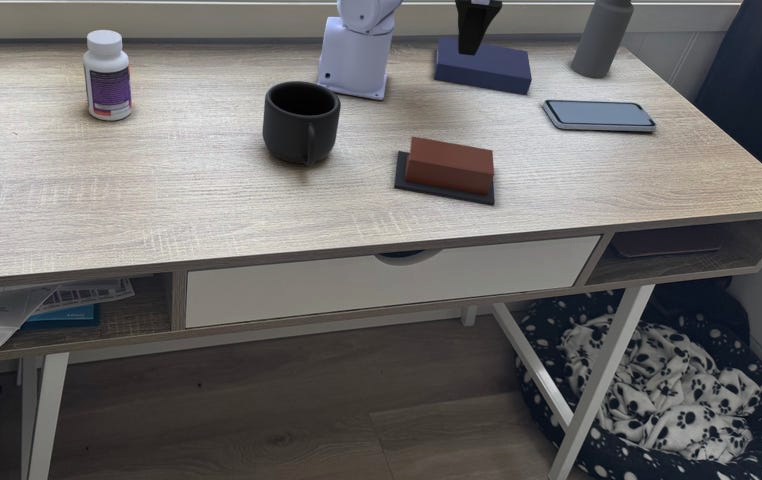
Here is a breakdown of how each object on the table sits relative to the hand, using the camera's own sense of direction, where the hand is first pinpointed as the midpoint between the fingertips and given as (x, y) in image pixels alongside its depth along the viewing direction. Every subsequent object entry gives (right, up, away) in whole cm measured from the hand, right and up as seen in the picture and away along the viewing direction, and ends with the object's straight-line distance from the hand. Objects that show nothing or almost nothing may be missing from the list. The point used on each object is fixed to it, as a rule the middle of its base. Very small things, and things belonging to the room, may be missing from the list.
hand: (466, 41), depth 95 cm
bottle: (+25, +4, +23) cm, 34 cm away
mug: (-22, -16, -5) cm, 27 cm away
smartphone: (+21, -7, +11) cm, 25 cm away
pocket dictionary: (-4, -18, -5) cm, 19 cm away
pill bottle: (-46, -10, -2) cm, 47 cm away
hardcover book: (+6, +2, +18) cm, 19 cm away
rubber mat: (-4, -19, -5) cm, 20 cm away
